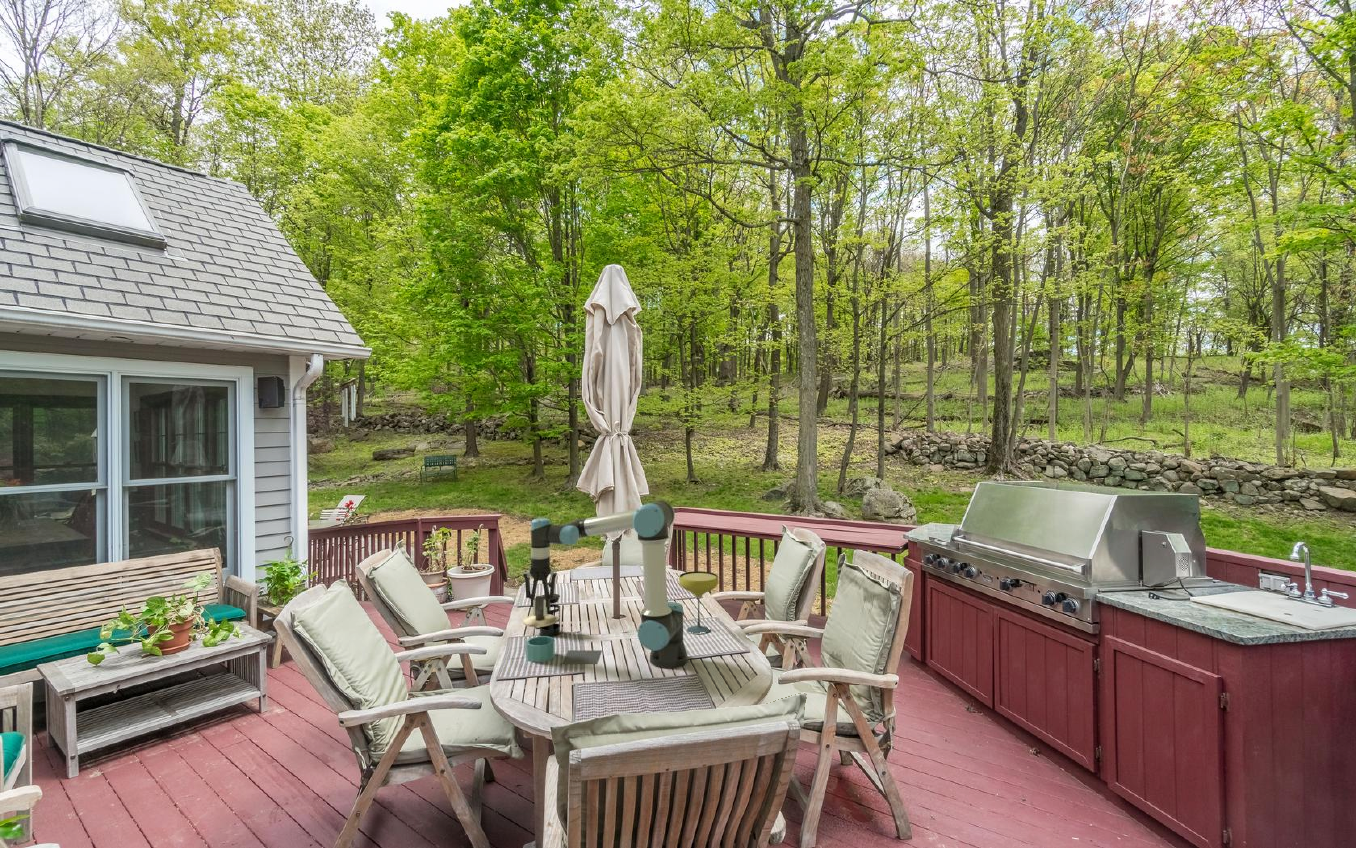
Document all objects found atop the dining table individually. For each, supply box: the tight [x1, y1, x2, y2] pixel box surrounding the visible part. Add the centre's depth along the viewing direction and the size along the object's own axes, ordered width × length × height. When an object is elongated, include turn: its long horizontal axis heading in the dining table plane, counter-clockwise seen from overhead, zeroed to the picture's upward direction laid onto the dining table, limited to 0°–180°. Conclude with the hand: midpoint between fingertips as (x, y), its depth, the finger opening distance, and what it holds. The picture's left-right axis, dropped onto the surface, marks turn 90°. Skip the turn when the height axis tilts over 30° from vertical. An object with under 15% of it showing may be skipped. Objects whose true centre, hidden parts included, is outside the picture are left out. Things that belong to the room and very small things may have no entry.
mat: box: [561, 649, 602, 665], centre depth 236 cm, size 14×14×1 cm
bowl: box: [525, 635, 556, 664], centre depth 236 cm, size 11×11×7 cm
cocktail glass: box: [678, 570, 719, 634], centre depth 268 cm, size 18×18×25 cm
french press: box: [534, 581, 561, 638], centre depth 264 cm, size 12×9×23 cm
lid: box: [523, 595, 557, 628], centre depth 236 cm, size 13×13×10 cm
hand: (540, 615), depth 236 cm, fingers closed on lid, 3 cm apart
